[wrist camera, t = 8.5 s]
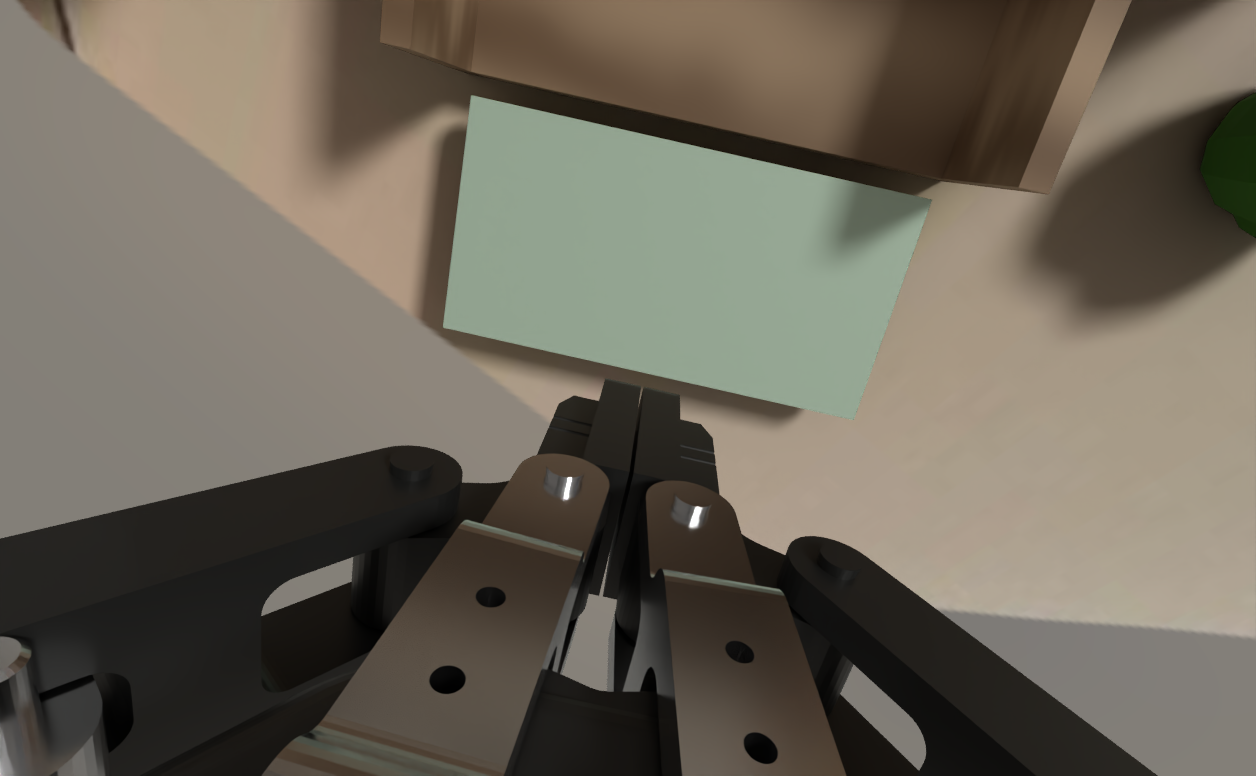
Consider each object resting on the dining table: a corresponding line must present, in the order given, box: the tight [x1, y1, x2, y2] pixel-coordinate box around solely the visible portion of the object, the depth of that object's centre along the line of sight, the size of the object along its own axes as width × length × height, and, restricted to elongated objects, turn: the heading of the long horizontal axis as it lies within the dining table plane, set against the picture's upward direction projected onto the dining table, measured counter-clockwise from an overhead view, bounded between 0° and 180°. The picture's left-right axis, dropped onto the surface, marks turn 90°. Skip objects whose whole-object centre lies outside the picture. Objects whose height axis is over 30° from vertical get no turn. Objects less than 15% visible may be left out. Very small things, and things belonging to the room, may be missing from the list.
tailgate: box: [443, 95, 932, 420], centre depth 29 cm, size 2×19×10 cm
